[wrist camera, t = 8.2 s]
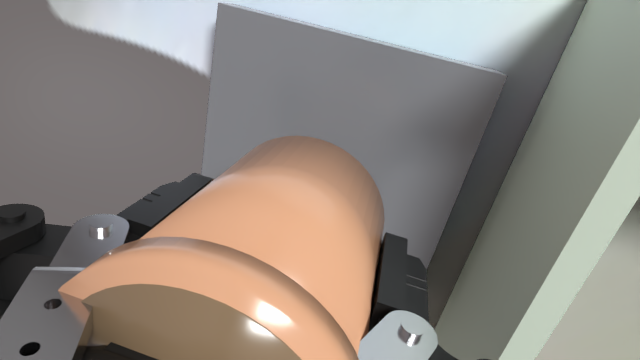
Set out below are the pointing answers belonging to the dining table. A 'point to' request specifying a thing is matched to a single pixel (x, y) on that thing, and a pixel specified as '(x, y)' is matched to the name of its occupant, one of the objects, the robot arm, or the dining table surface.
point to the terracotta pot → (249, 264)
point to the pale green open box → (555, 196)
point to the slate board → (351, 110)
